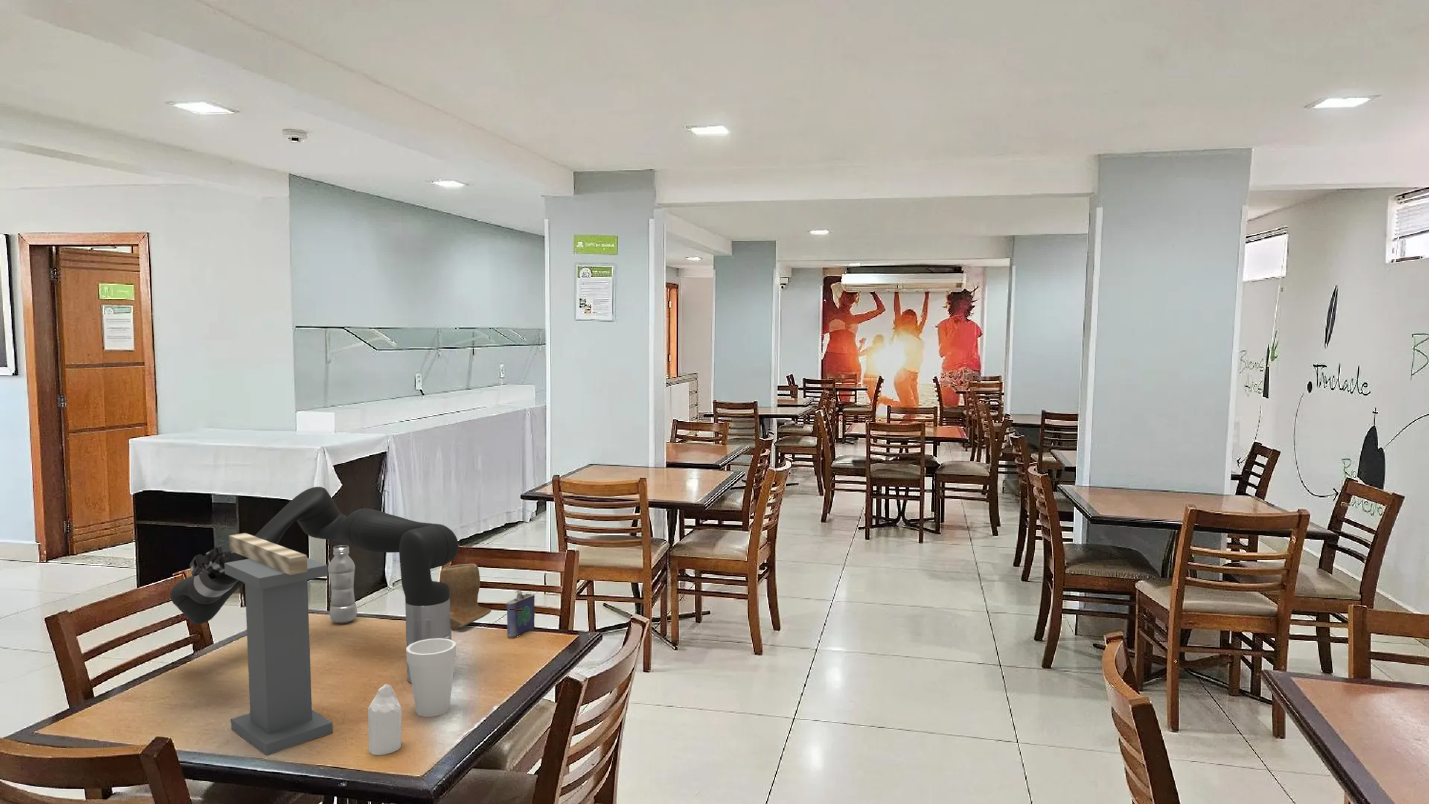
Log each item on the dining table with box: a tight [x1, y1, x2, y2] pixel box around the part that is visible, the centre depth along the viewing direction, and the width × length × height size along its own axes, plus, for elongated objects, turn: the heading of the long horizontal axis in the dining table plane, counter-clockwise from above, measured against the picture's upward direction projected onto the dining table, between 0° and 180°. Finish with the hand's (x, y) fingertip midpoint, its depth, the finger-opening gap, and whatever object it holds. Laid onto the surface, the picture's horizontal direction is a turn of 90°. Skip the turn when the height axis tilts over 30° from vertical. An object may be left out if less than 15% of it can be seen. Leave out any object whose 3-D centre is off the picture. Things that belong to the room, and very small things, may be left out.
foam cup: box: [405, 638, 457, 718], centre depth 173 cm, size 10×9×13 cm
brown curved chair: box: [440, 563, 492, 630], centre depth 228 cm, size 15×12×15 cm
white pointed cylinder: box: [367, 683, 403, 756], centre depth 157 cm, size 6×12×6 cm
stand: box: [224, 557, 334, 756], centre depth 163 cm, size 16×12×32 cm
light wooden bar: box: [228, 532, 308, 575], centre depth 165 cm, size 28×3×3 cm, turn 49°
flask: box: [506, 590, 536, 639], centre depth 219 cm, size 9×3×11 cm, turn 151°
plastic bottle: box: [327, 544, 358, 624], centre depth 228 cm, size 6×7×20 cm
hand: (243, 545), depth 172 cm, fingers open, 8 cm apart
